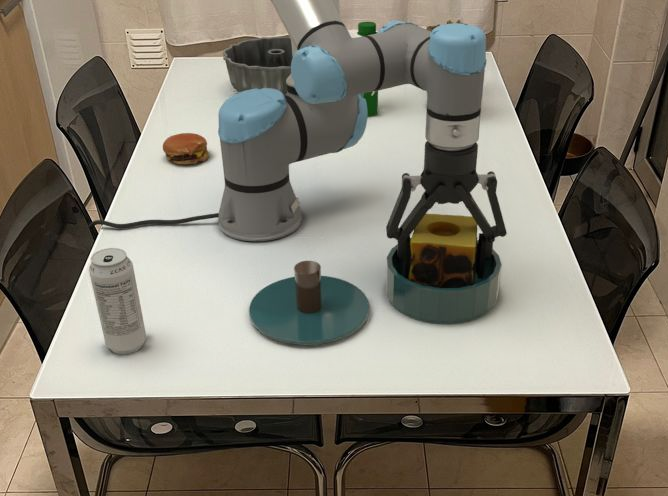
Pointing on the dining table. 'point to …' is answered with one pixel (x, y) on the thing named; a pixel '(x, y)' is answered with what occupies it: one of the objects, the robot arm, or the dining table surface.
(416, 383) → the dining table surface
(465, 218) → the candle
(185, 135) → the burger
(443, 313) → the pot
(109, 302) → the energy drink can
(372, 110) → the milk carton
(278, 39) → the bundt pan
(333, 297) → the lid
